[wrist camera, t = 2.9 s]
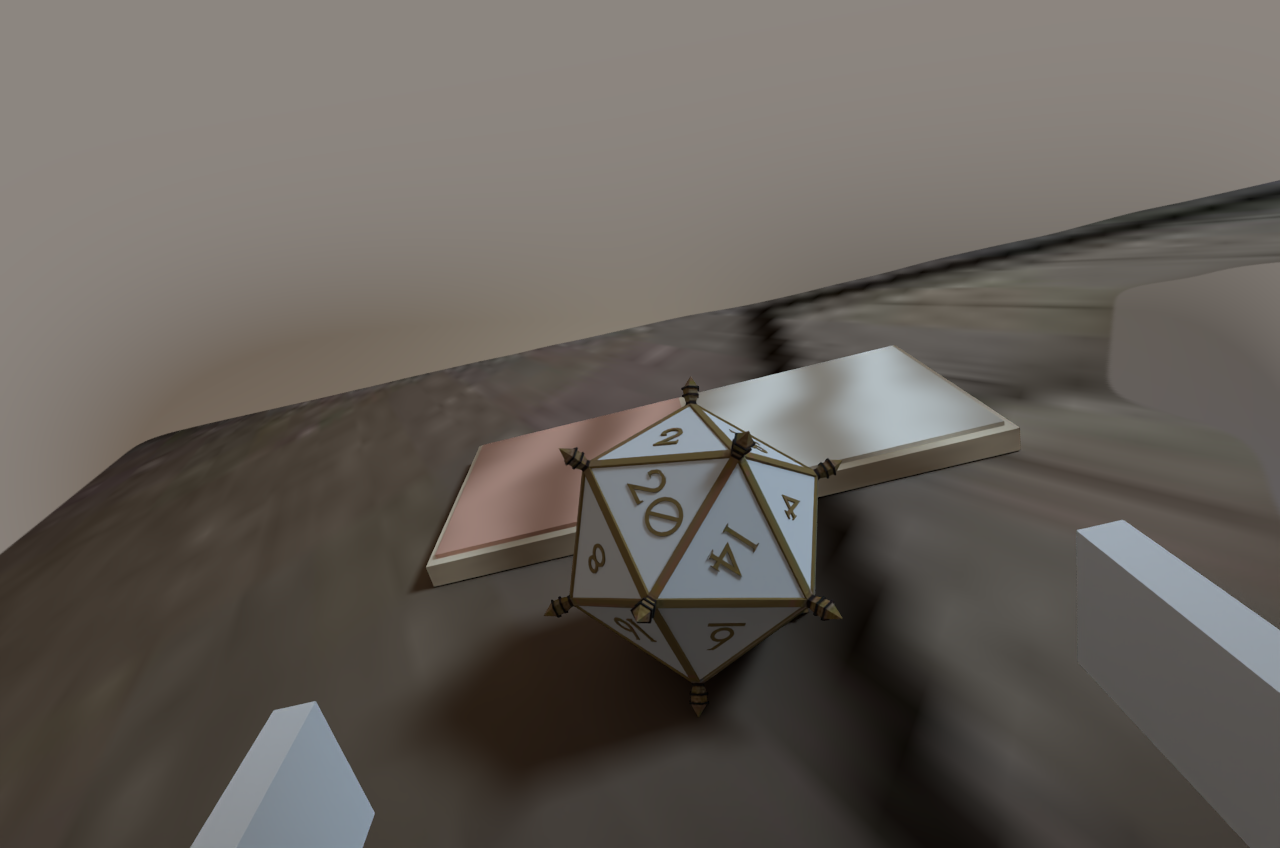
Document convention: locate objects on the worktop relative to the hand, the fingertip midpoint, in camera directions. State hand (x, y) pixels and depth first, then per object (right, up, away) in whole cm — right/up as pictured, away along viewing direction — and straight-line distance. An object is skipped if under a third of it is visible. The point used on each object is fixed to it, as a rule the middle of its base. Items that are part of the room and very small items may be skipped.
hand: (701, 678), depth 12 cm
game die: (+2, -3, +10) cm, 11 cm away
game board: (+2, +3, +23) cm, 23 cm away
